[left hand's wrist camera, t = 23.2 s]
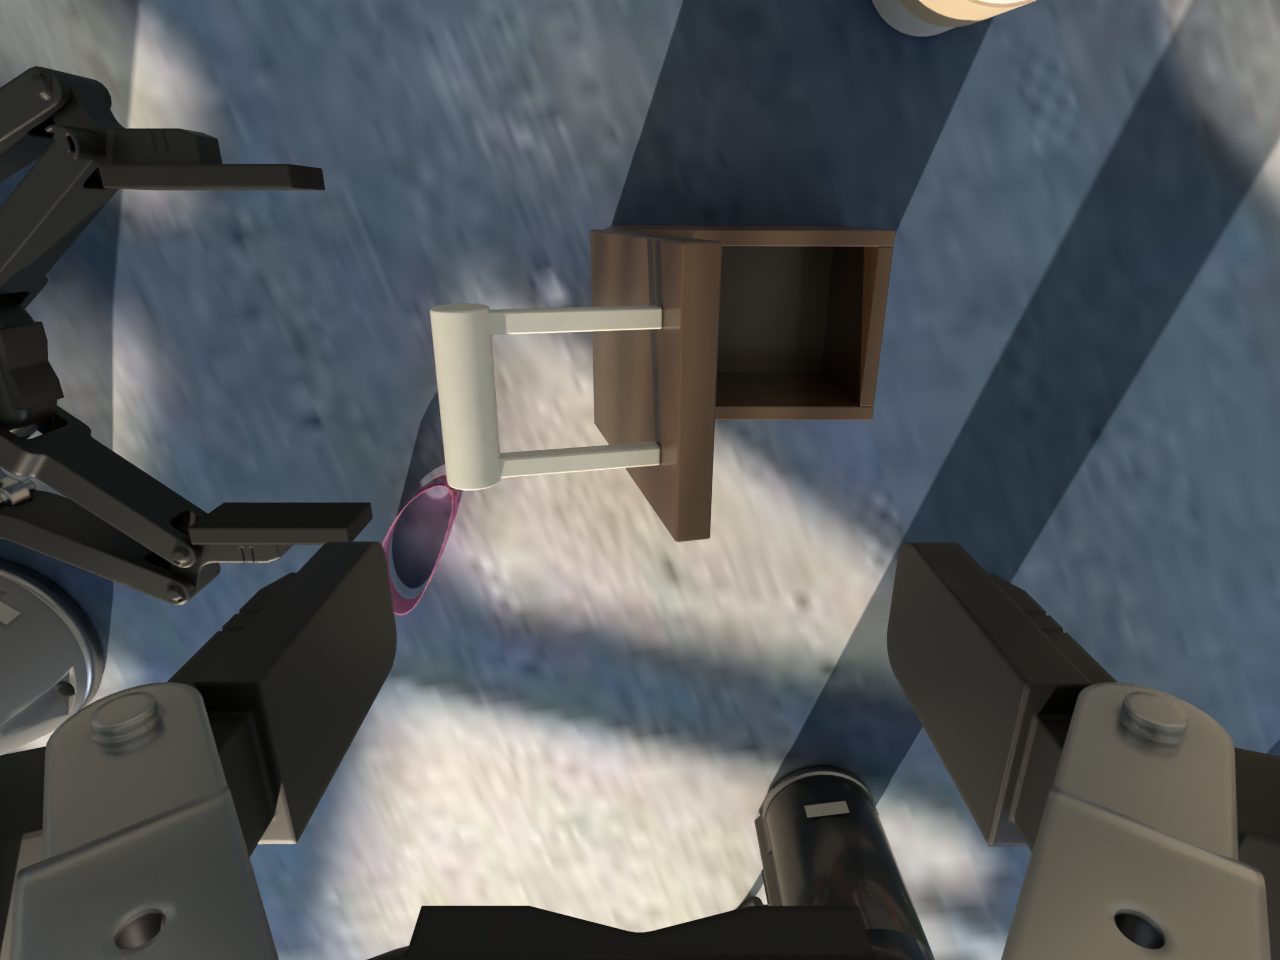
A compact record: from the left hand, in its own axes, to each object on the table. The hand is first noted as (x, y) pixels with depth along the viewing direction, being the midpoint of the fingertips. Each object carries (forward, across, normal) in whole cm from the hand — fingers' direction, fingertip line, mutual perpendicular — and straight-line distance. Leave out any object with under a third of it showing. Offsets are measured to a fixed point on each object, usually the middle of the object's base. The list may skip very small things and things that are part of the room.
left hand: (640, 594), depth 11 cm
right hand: (+18, +12, 0) cm, 22 cm away
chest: (+37, -5, 0) cm, 37 cm away
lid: (+20, -1, 0) cm, 20 cm away
